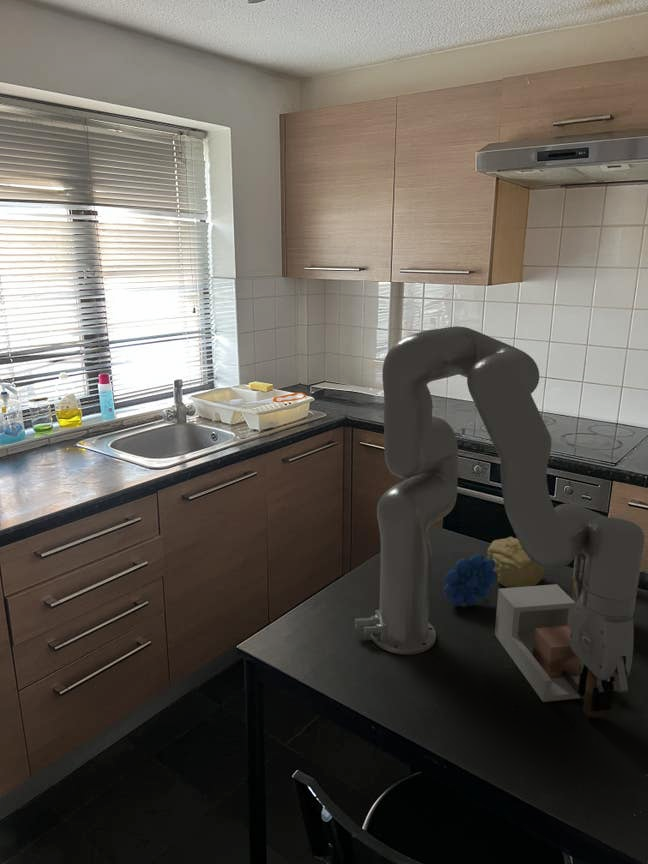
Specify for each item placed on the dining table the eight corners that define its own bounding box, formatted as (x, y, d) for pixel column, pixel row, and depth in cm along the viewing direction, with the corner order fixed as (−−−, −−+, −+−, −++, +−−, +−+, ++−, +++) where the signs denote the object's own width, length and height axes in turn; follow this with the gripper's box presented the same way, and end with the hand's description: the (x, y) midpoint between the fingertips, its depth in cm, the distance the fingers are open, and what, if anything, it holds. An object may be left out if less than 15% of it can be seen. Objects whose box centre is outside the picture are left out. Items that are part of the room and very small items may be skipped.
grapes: (487, 593, 142) (491, 543, 138) (499, 609, 135) (504, 557, 132) (436, 597, 140) (439, 546, 137) (446, 613, 134) (449, 561, 130)
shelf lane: (543, 701, 107) (548, 649, 105) (494, 634, 126) (498, 588, 124) (609, 694, 109) (616, 643, 106) (551, 629, 128) (556, 584, 125)
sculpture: (478, 580, 147) (481, 537, 144) (511, 566, 154) (515, 524, 151) (519, 601, 138) (523, 555, 136) (552, 585, 145) (557, 541, 142)
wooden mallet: (580, 719, 101) (585, 675, 99) (532, 657, 117) (536, 618, 115) (615, 715, 102) (621, 672, 100) (563, 654, 118) (567, 615, 116)
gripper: (557, 575, 105) (547, 672, 110) (617, 630, 90) (601, 741, 94) (600, 571, 106) (587, 668, 111) (665, 626, 91) (648, 735, 96)
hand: (594, 700), depth 103 cm, fingers closed on wooden mallet, 3 cm apart
